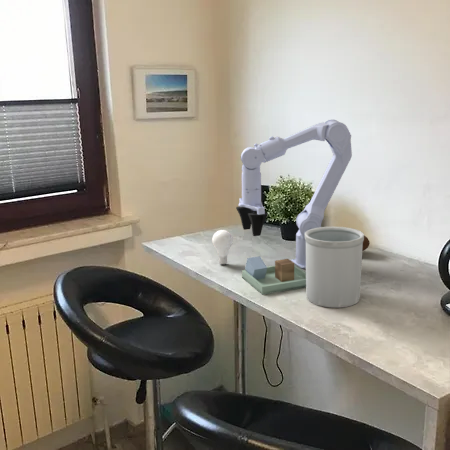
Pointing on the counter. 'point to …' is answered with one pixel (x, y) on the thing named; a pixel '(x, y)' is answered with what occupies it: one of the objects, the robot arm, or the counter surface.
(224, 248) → the lightbulb
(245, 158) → the robot arm
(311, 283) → the utensil holder
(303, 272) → the tray
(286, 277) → the walnut block
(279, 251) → the counter surface
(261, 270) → the bluegrey block
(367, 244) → the potato
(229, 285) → the counter surface
